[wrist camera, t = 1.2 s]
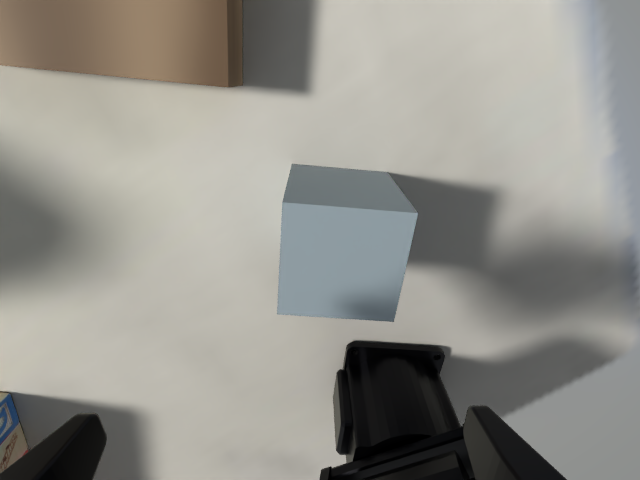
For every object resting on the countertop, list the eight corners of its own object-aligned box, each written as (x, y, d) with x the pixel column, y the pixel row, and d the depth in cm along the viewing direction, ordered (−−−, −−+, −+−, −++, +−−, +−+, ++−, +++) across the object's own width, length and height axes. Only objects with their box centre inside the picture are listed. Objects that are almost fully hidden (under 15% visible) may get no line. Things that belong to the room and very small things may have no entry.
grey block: (387, 172, 18) (418, 213, 13) (372, 256, 20) (393, 321, 15) (291, 163, 18) (282, 202, 13) (287, 249, 20) (277, 314, 15)
